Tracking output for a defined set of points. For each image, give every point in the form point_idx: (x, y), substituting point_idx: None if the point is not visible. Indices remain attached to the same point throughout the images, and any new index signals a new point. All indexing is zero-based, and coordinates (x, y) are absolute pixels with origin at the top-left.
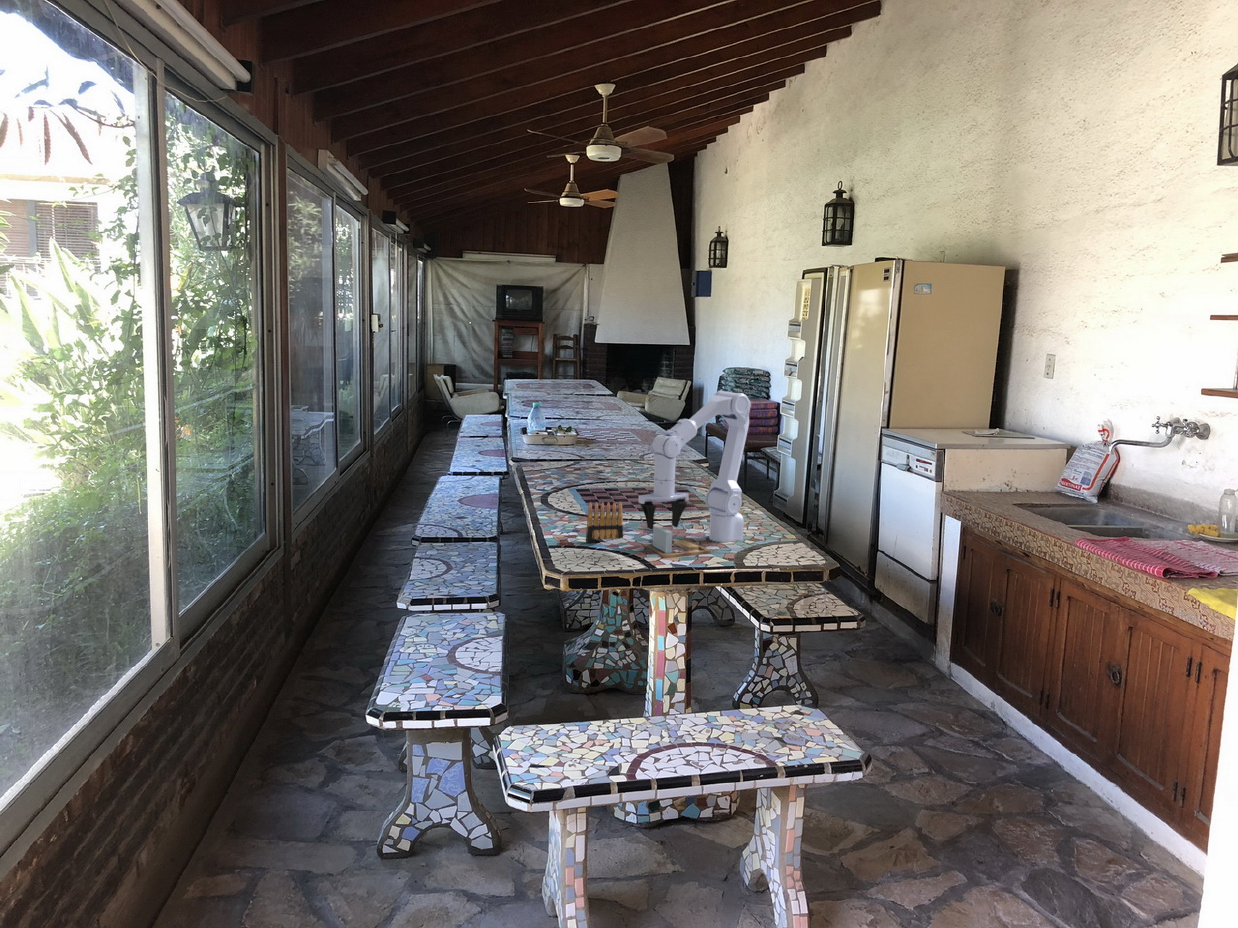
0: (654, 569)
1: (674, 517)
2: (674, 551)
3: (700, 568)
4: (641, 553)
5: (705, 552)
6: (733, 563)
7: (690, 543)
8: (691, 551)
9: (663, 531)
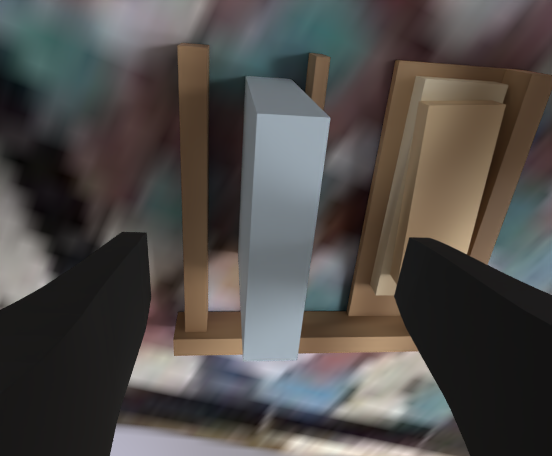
0: None
1: (447, 322)
2: None
3: (294, 423)
4: (128, 129)
5: None
6: None
7: (467, 214)
8: (389, 290)
9: (244, 317)
